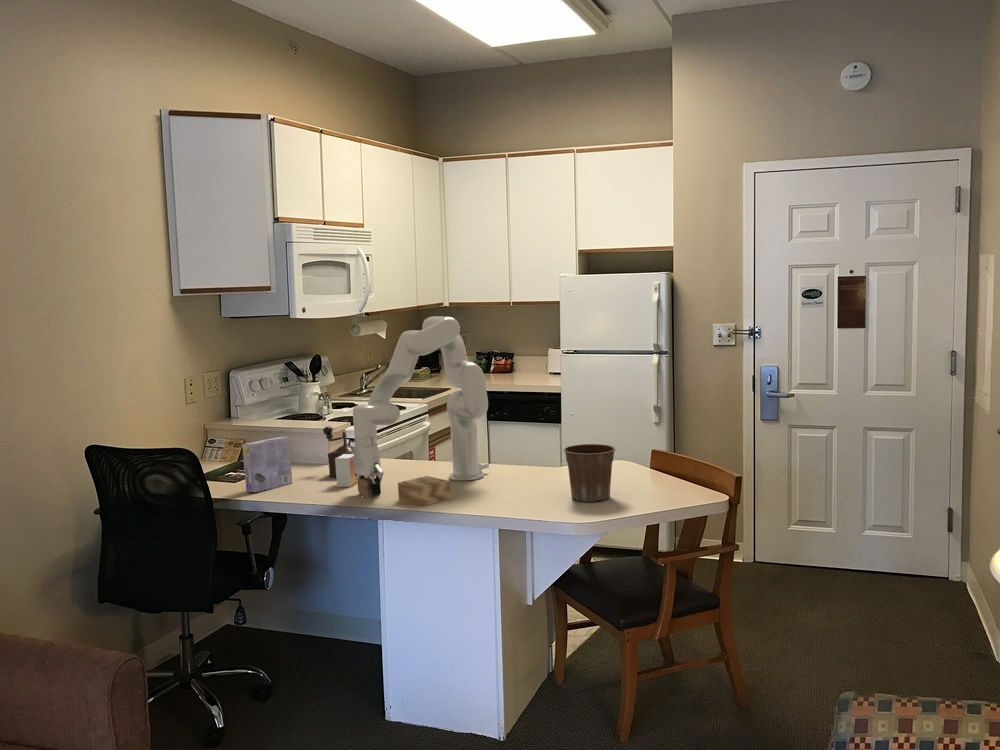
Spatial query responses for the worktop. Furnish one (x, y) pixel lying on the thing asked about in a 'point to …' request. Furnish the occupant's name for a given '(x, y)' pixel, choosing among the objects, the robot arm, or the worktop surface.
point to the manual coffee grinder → (338, 452)
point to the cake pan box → (267, 464)
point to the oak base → (423, 490)
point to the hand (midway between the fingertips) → (369, 492)
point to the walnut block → (365, 487)
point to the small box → (345, 471)
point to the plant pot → (590, 471)
